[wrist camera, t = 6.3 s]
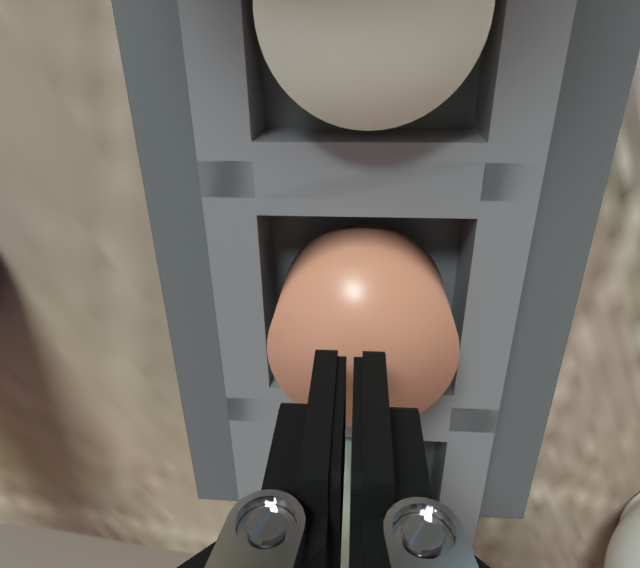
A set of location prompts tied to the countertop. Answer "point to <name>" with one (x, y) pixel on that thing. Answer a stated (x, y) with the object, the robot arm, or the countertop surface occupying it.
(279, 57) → the cream button
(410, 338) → the peach rounded dome
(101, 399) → the countertop surface
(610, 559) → the lidded jar
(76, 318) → the countertop surface
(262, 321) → the grey compartment tray
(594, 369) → the countertop surface
